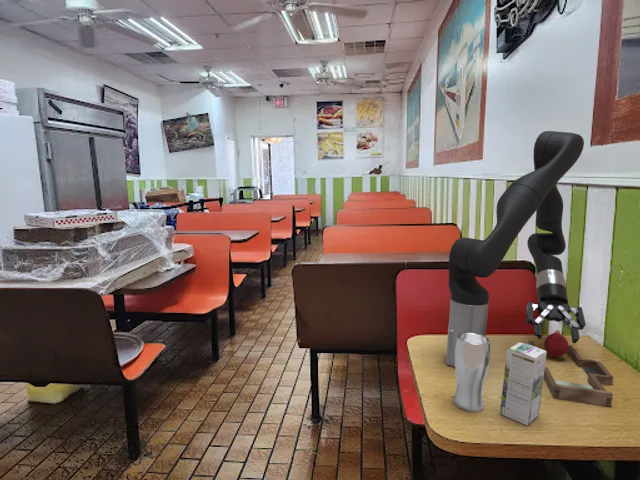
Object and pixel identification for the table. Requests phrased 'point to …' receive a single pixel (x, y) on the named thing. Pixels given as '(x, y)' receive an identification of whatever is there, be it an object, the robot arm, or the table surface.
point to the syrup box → (523, 383)
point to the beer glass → (471, 370)
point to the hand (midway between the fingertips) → (557, 339)
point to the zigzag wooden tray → (579, 391)
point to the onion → (556, 344)
